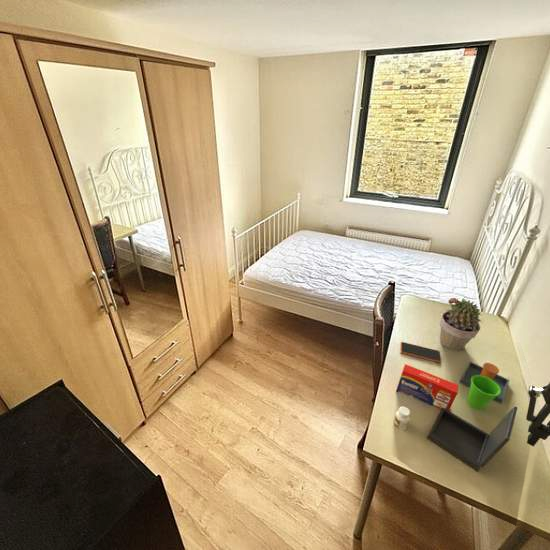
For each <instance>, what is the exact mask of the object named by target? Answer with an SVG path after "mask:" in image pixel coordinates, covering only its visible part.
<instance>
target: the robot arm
mask: <svg viewBox="0 0 550 550" xmlns="http://www.w3.org/2000/svg"><path fill="white" fill-rule="evenodd" d="M527 393H528V396H529V403H528V407H527V412H526V417H525V418H526V421H528V422H531V423H530V424H529V425H528V429H527V432H528V433H529V434H528V436H527V440H526V444H528V445H530V446H531V447H534V446H535V445H537V443H538V442H539V440H540V439H541V440H543V441H545V440H547V439H548V438H549V437H550V420H548V422H547V423H546V424H544V421H545V420H546V419H547V418H548V416H549V415H550V381H549V383H548V384H547V385H544V386H542V388H541V387H540V388H539V387H535V386H534V385H529V386H528V390H527ZM541 395H542V397H543V401H544V403H545V404H544V405H543V406H542V407H541V409H539V411H538V413H537V414H536V415H534V414H535V409H536V404H537V399H538V398H540V396H541Z"/></svg>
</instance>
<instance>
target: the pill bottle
mask: <svg viewBox="0 0 550 550" xmlns="http://www.w3.org/2000/svg"><path fill="white" fill-rule="evenodd" d="M410 415H411V410H410V409H409V408H407V407H406V406H400V407H399V408H398V410H397V411H396V413H395V414H394V417H393V425H394V426H395V428H397V429H398V430H402V431H404V430H406V429H407V428H408V425H409V422H410V420H411V419H410V417H411V416H410Z"/></svg>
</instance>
